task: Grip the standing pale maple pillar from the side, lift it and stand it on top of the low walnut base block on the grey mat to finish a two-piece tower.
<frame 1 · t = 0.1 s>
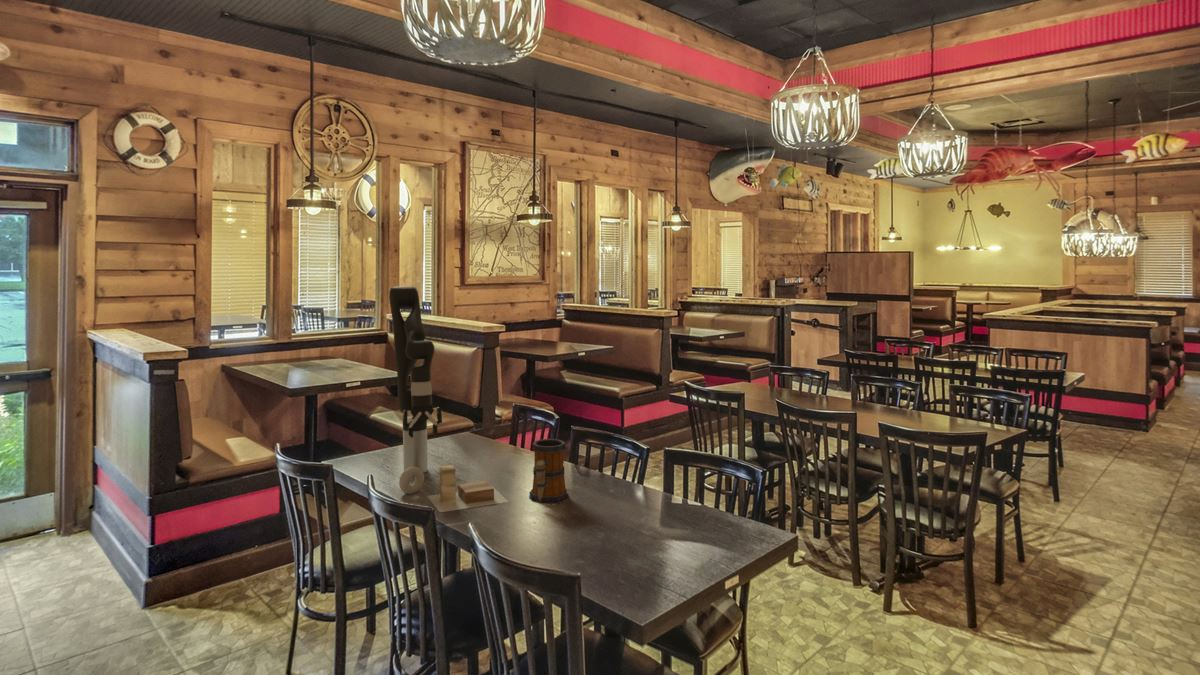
hand: (423, 436, 260), 17 cm above the table, tool pointing down, fingers open, 8 cm apart
maple pillar: (447, 501, 237), resting on build mat
build mat: (467, 500, 240), on the table
donut: (412, 494, 247), on the table
walnut base: (475, 497, 242), resting on build mat
mug: (547, 500, 241), on the table
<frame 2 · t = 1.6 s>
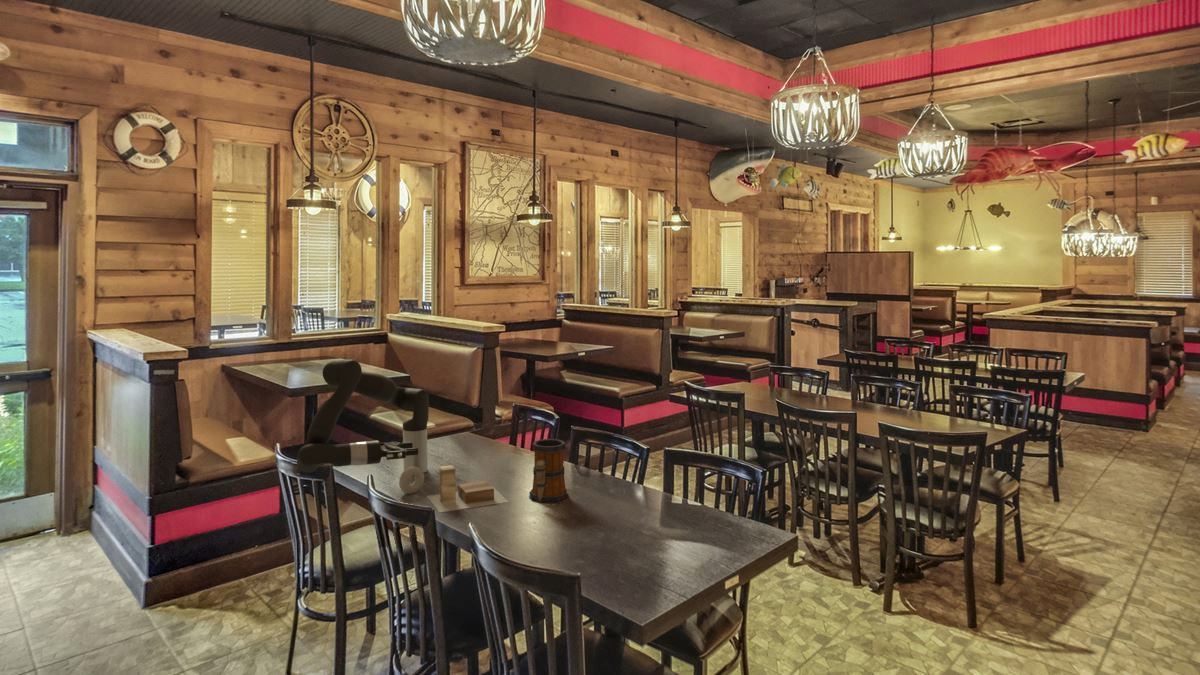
hand: (415, 448, 230), 21 cm above the table, tool horizontal, fingers open, 8 cm apart
nothing on the table moved.
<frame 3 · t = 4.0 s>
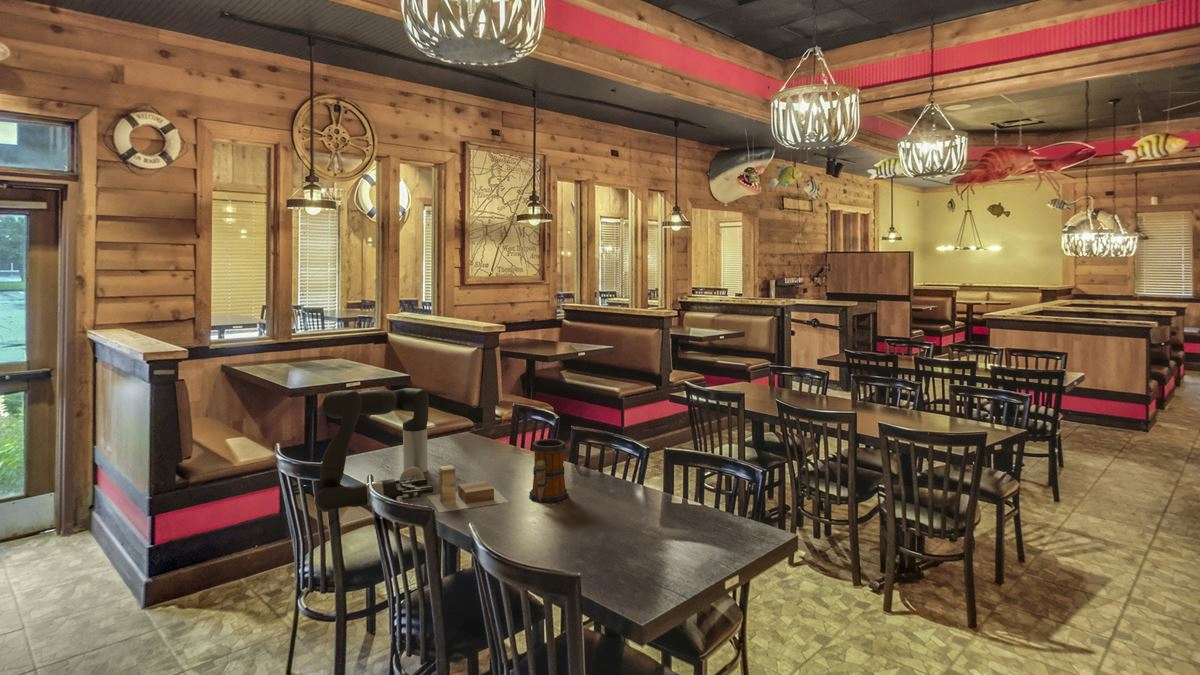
hand: (429, 485, 234), 7 cm above the table, tool horizontal, fingers open, 8 cm apart
nothing on the table moved.
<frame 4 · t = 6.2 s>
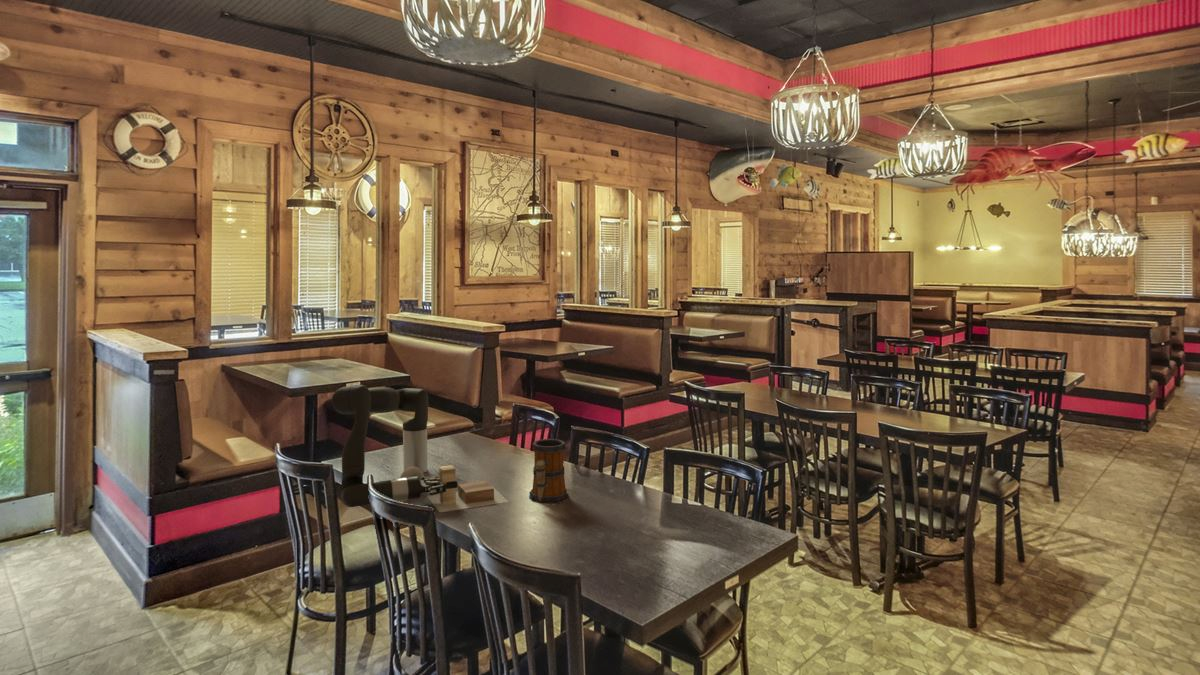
hand: (455, 482, 238), 7 cm above the table, tool horizontal, fingers closed on maple pillar, 4 cm apart
maple pillar: (447, 501, 237), point 1 cm above the table, touching build mat, gripper
everything else where it was.
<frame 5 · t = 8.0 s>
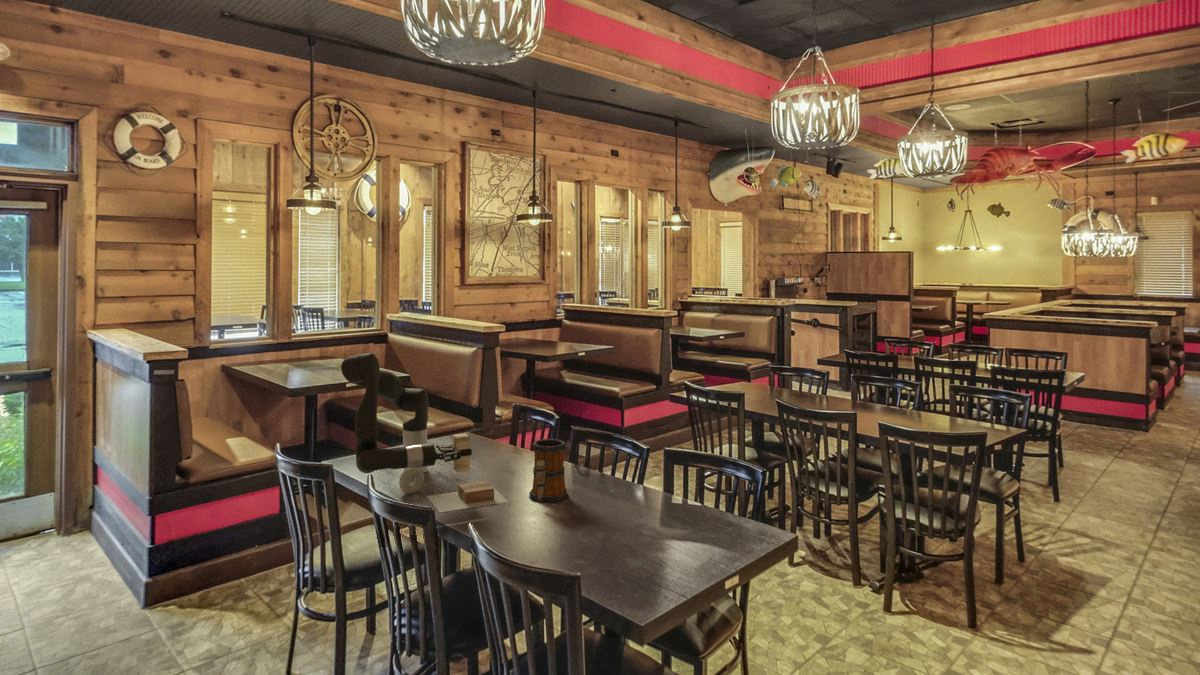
hand: (469, 450, 239), 18 cm above the table, tool horizontal, fingers closed on maple pillar, 4 cm apart
maple pillar: (461, 469, 238), point 11 cm above the table, touching gripper
everything else where it was.
when the fingers open (12 cm above the table, at t = 10.2 s): maple pillar stays where it is, resting on walnut base.
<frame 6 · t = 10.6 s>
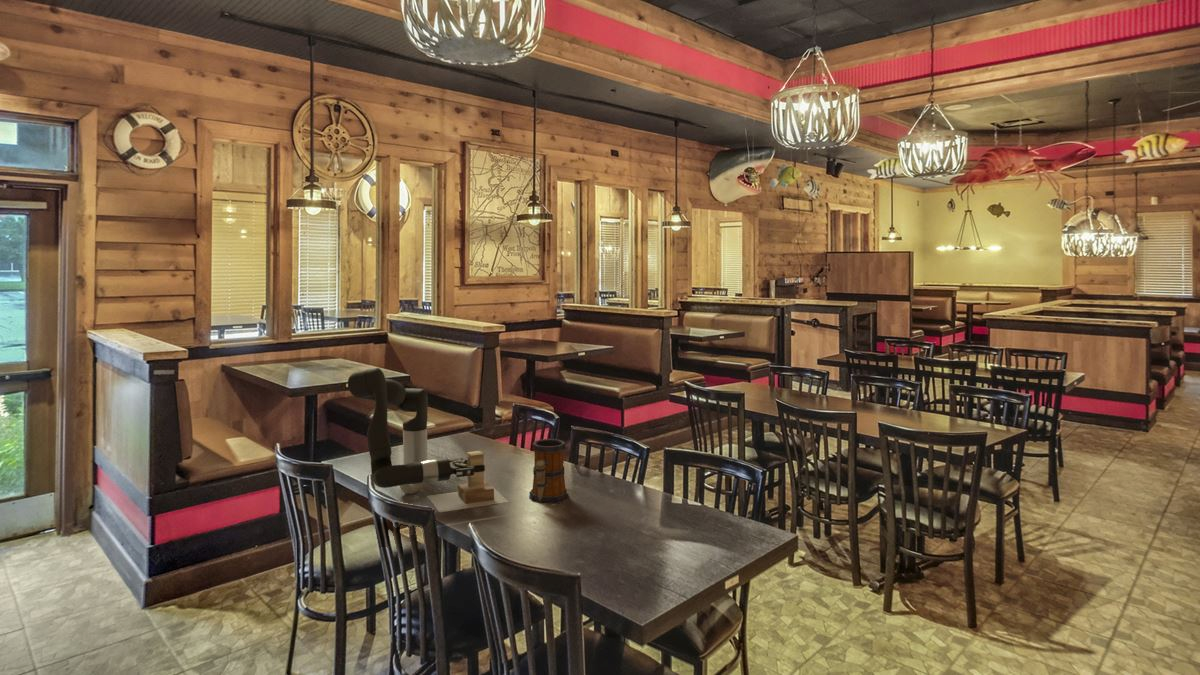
hand: (480, 464, 241), 12 cm above the table, tool horizontal, fingers open, 8 cm apart
maple pillar: (475, 486, 241), point 4 cm above the table, touching walnut base
walnut base: (475, 497, 242), resting on build mat, touching maple pillar
everything else where it was.
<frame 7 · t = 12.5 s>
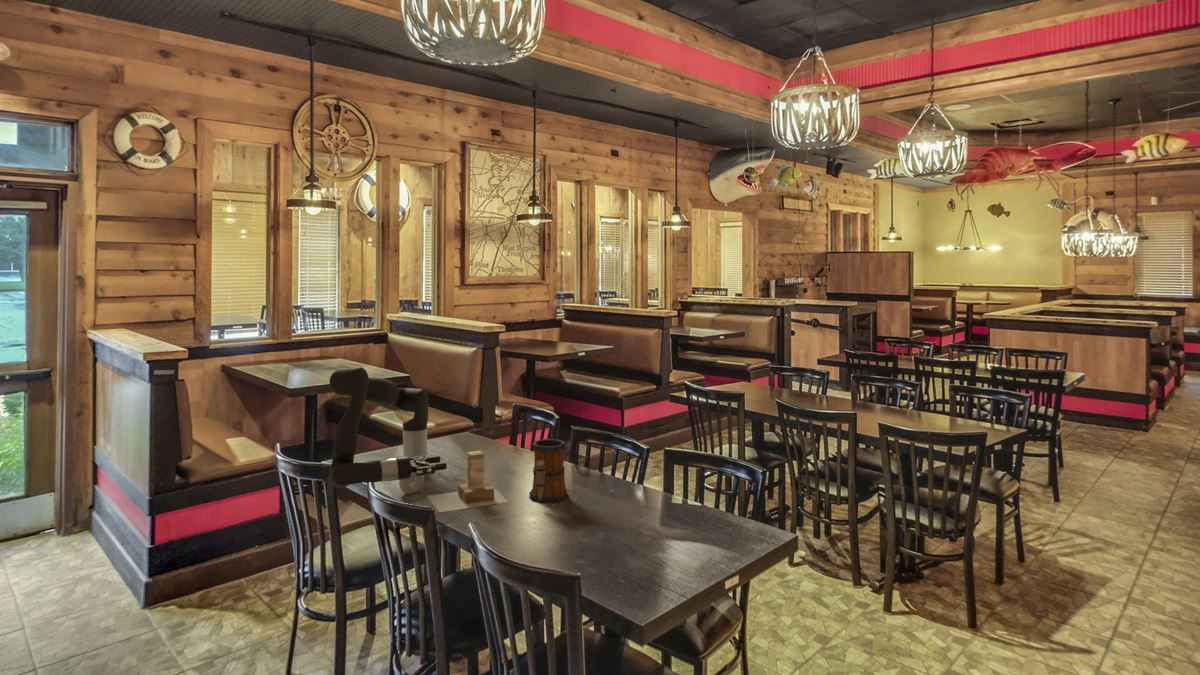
hand: (443, 462, 236), 14 cm above the table, tool horizontal, fingers open, 8 cm apart
nothing on the table moved.
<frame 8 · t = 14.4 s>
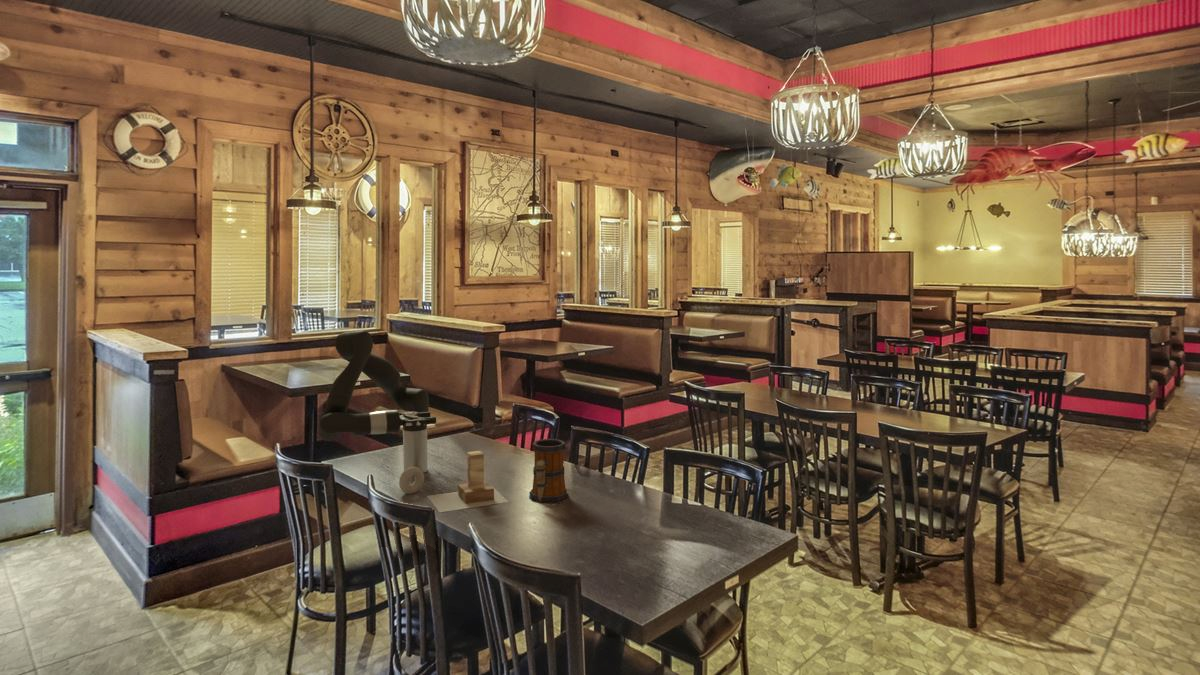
hand: (432, 417, 234), 30 cm above the table, tool horizontal, fingers open, 8 cm apart
nothing on the table moved.
at the end: maple pillar 0.1 cm off-centre on the walnut base, point 4.0 cm above the walnut base's base; maple pillar tilted 0°; the gripper is holding nothing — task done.
